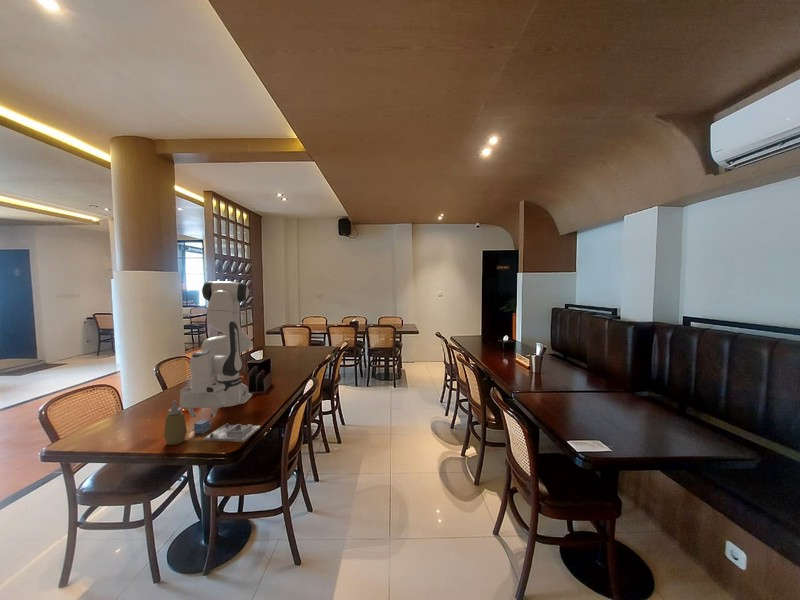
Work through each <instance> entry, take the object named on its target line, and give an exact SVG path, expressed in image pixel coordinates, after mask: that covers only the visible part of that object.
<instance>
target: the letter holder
mask: <svg viewBox="0 0 800 600" xmlns="http://www.w3.org/2000/svg"><path fill="white" fill-rule="evenodd" d="M258 369H259V368H258V365H255V366H254V367H252V368H251V370H250V371H249V372H248V374H247V387H248V393H252V394H253V395H256V393H259V394H265V393H267V391H268V389H269V388H270V387H271V386H272V384H273V381H272V379H273V378H272V372H270V373H268V374H267V375H266V376H265V369H262V370H261V371H259V370H258ZM258 371H259V372H258Z"/></svg>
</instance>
